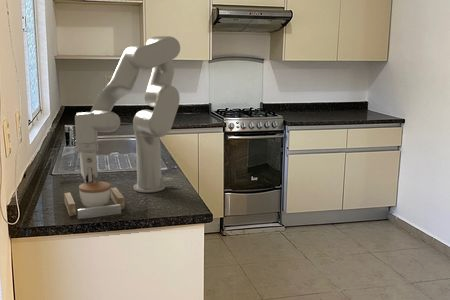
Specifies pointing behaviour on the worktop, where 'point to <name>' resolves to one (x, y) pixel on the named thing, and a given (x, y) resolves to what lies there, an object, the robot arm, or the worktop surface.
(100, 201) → the lidded jar
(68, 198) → the rail far
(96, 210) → the rail
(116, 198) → the bar
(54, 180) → the worktop surface
